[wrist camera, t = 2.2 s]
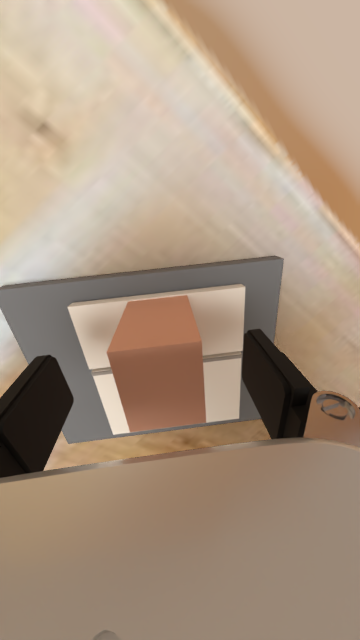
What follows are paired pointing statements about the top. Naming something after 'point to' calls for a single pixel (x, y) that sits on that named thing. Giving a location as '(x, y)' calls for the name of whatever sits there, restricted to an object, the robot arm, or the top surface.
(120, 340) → the stub
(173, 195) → the top surface
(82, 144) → the top surface
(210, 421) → the pad
